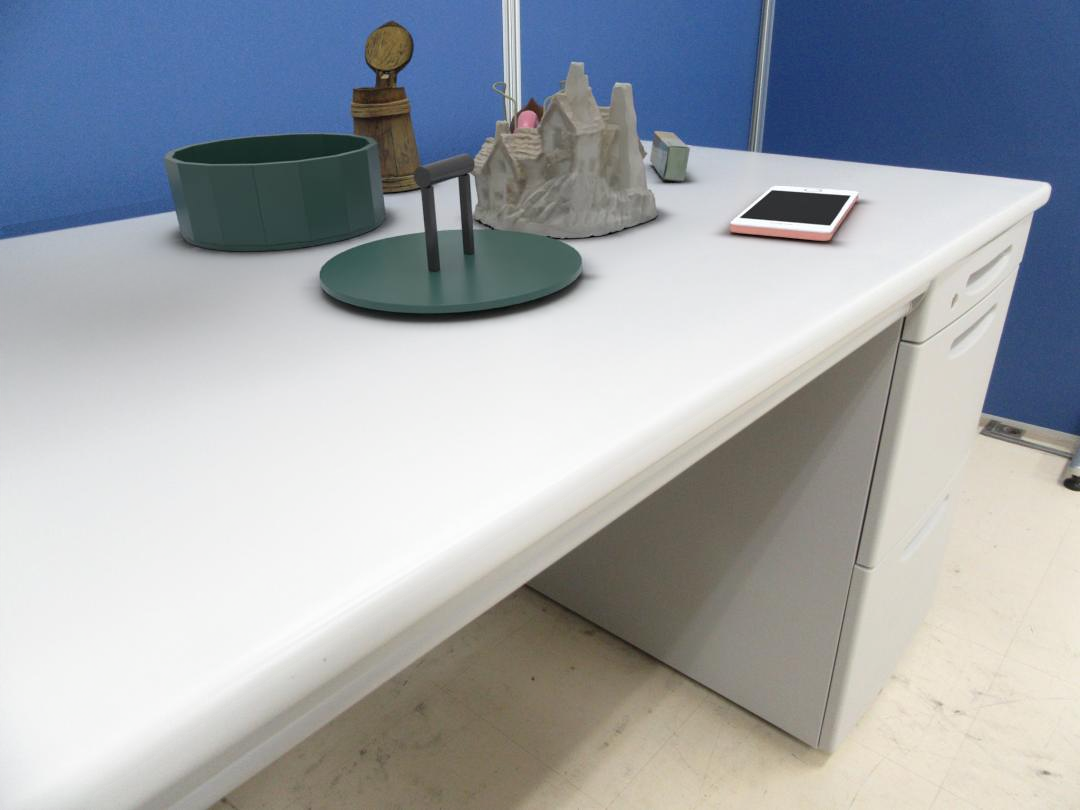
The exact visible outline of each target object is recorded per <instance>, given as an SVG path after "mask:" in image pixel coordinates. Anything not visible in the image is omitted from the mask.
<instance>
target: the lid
mask: <svg viewBox="0 0 1080 810" xmlns="http://www.w3.org/2000/svg"><path fill="white" fill-rule="evenodd" d="M474 167H475V163H474V158H473V156H472V155H471V154H469V153H461V154H458V155H455V156H451V157H448V158H444V159H441V160H438V161H434V162H431V163H430V162H429V163H428V164H424V165H421V166H420V167H418V168H416V170H415V172H414V180H415V182H416V184H417V185H418V186H420V193H421V194H420V195H421V204H422V205H421V206H422V218H423V227H424V231H422V232H414V233H413V232H412V233H407V234H401V235H396V236H390V237H385V238H381V239H376V240H372V241H370V242H366V243H365V242H364V243H362V244H359V245H357V246H353V247H351V248H348V249H346V250H344V251H341V252H339V253H338V254H335V255H334V256H333V257H330V258H329V259H328V260H327V261H326V262H325V263H323V264H322V266H321V268H320V270H319V277H318V278H319V284H320V286H321V288H322V290H324V292H326V294H328V295H329V296H330V297H332V298H334V299H336V300H338V301H341V302H343V303H346V304H349V305H352V306H356V307H361V308H365V309H368V310H369V309H370V310H376V311H381V312H383V311H384V312H392V313H404V314H449V313H451V314H452V313H467V312H476V311H477V312H478V311H486V310H490V309H499V308H504V307H510V306H514V305H519V304H523V303H526V302H530V301H534V300H538V299H540V298H543V297H547V296H549V295H551V294H553V293H554V294H555V293H556V292H559V291H561V290H562V289H564V288H566V287H568V286H569V285H571V284H572V283H573V282H575V280H577V278H579V276H580V275H581V273H582V271H583V258H582V255H581V253H580V252H579V250H577V249H576V248H575V247H574V246H571V245H570V244H568V243H566V242H564V241H561V240H558V239H557V238H554V237H550V236H541V235H536V234H531V233H524V232H516V231H506V230H499V229H497V230H496V229H487V228H486V229H481V228H480V229H478V228H474V221H473V219H474V218H473V217H474V216H473V203H472V188H471V187H472V186H471V174H470V173H471V172H472V171H473V169H474ZM456 178H457V179H458V181H457V182H458V193H459V209H460V223H461V229H443V230H442V229H441V230H438V226H437V225H438V223H437V214H436V201H435V190H434V189H435V188H434V185H438V184H441V183H445V182H448V181H450V180H453V179H456Z"/></svg>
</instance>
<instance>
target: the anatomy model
mask: <svg viewBox="0 0 1080 810" xmlns="http://www.w3.org/2000/svg"><path fill="white" fill-rule="evenodd" d="M562 84H566V80H560V81H559V82H558V85H559V88H560V90H559V91H558V92H556V93H564V92H565V88H564V87H563V85H562ZM498 85H503V90H502V91H501V90H499V89H497V88H496V86H498ZM491 89H492V90H494V91H495V92H496V93H498V94H500V95H501V96H502V103H503V111H504V112H503V113H504V120H506V121H507V122H508V117H507V116H508V114H507V105H506V104H507V103H506V99H509V100H510V101H511V102H512V103H513V106H514V108H513V116H512V117H511V121H510V123H509V131H510V134H515V133H516V132H517V130H518V128H519V127H526V128H534V129H535V128H537V127H538V125H539V123H540V122H541V118H542V117H543V115H544V114H545V112H546V110H547V107H546V104H547V102H548V101H550V100H551V99H552V96H553V95H554V94H552V95H549V96H548V97H546V98H545V99H544V101H543V105H540V104H539V103H538V102H537V101H536V100H535V98H534V97H532V96H531V97H530V99H529V101H528V102H527V103H526V104H525V105H524V106H523V107H522V108H520V110H518V111H517V102H516V100H515V98H513V97H512V96H509V95H507V94H506V91H507V83H506V82H504V81H497V82H494V83H493V85H492V88H491Z"/></svg>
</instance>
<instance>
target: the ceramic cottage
mask: <svg viewBox="0 0 1080 810" xmlns="http://www.w3.org/2000/svg"><path fill="white" fill-rule="evenodd" d="M565 81H566V83H564V84H565V86H564V89H565V91H564V93H557V92H556V93H554V94H552V95H553V96H552V95H551V96H552V98H551V99H549V101H550V102H549V104H548V105H547V107H546V109H547V110H546V112H545V114H544V115H543V117H542V118H541V122H540V123H539V125H538V127H537V128H535V129H534V128H526V127H519V128H518V130H517V132H516V133H515V134H511V132H510V131H509V127H510V123H509V122H508V120H507V121H506V120H505V119H504V120H496V122H495V132H494V137H491V136H490V137H487V138H486V137H485V142H484V143H483V144H482V145H481V149H480V150H479V151H478V153H477V154H476V155H475V157H474V158H473V160H474V163H475V167H474V169H473V171H472V172H471V173H469V174H470V175H471V176H473V177H474V184H475V190H476V196H477V203H476V204H475V207H474V216H473V217H474V218H473V219H474V220H475V221H480V222H481V223H482V224H483V225H487V226H490V228H493V230H506V231H516V232H524V233H531V234H536V235H541V236H545V237H549V238H554V239H557V238H559V239H561V240H563V239H566V238H567V239H577V238H583V239H584V238H589V237H591V236H594V237H600V236H605V235H608V234H609V233H614V232H617V231H618V232H620V231H622V230H623V229H624V228H631V227H632V228H633V227H635V226H637V225H639V224H644V223H647V222H649V221H651V220H653V219H655V218H657V216H658V213H659V212H658V209H657V205H656V197H655V194H654V192H652V189H649V188H648V184H647V183H648V182H647V172H646V171H647V170H646V166H645V162H644V159H645V158H646V156H647V155H648V152H647V151H646V150H645V147H644V145H643V144H642V141H641V137H639V135H638V131H637V127H638V125H637V124H638V123H637V122H638V119H637V114H636V109H635V106H634V105H635V104H634V96H633V85H632V84H631V83H630V82H615V84H614V85H613V87H612V90H611V95H610V102H609V106H600V105H598V103H597V101H596V98H595V97H594V95H593V90H592V89H593V88H592V87H591V86H590V84H589V82H590V81H589V75H588V74H585V62H582V61H581V62H580V61H579V62H577V61H571V62H570V65H569V68H568V72H567V75H566V80H565Z"/></svg>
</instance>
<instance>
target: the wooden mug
mask: <svg viewBox="0 0 1080 810" xmlns="http://www.w3.org/2000/svg"><path fill="white" fill-rule="evenodd" d="M364 46H365V47H364V60H365V64H366V65H367V67H368V68H369V69H370V70H372V71H373V72H374V74H375V84H374V87H372V86H371V87H369V86H366V87H365V86H361V87H354V88H352V100H350V116H351V117H352V124H353V134H355V135H360V136H365V137H370V138H373V139H374V140H375V141H376V142H377V143H378V151H379V160H380V169H381V178H382V187H383V194H384V193H398V192H406V191H412V190H416V189H419V188H420V189H421V187H420V186H418V185H417V184H416V182H415V180H414V172H415V170H416V168H418V167H420V166H422V163H421V162H422V161H421V157H420V154H419V150H418V144H417V139H416V135H415V131H414V126H413V121H412V115H411V111H412V106H411V103H410V99H409V98H408V97H407V93H406V88H405V86H397V84H398V83H397V82H398V74H399V73H401V72H402V71H403V70H404V69H405V68H406V67H407V66H408V65H409V64H410V62H411V61H412V59H413V55H414V51H415V43H414V39H413V36H412V34H411V32H410V31H409V30H408V29H407V28H406V27H404V26H403V25H401V24H400V23H398V22H396V21H395V20H389V21H388V22H384V23H383V24H381V25H380V26H378V27H377V28H376V29H374V30H373V31H372V32H371V33H370V34H369V35H368V36H367V38H366V42H365V45H364Z"/></svg>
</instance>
